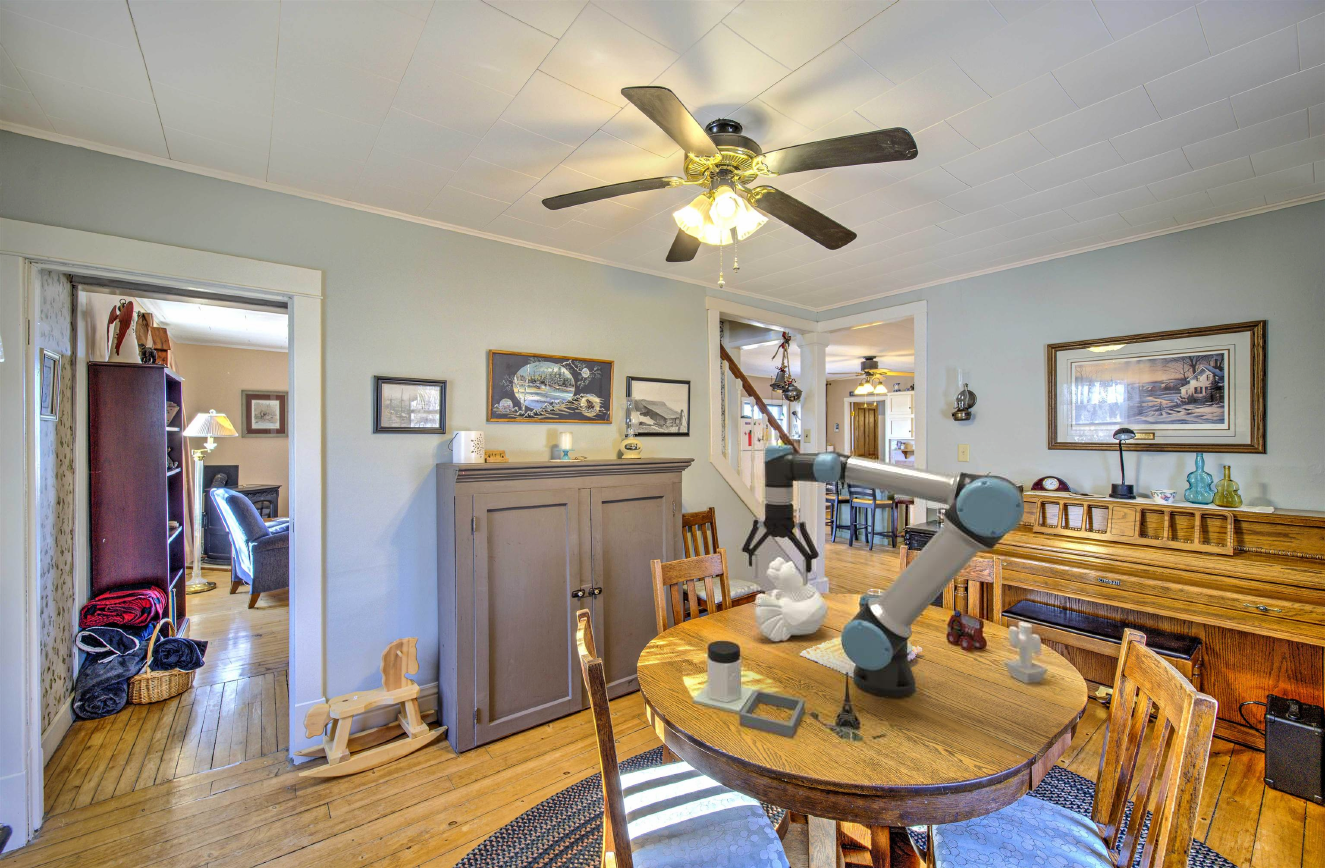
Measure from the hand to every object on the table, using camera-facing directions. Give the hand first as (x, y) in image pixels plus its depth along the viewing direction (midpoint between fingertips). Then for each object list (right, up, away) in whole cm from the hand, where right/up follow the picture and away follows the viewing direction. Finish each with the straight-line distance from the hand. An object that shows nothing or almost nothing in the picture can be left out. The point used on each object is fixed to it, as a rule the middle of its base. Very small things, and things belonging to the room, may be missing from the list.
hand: (779, 581), depth 142 cm
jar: (-16, -26, -9) cm, 32 cm away
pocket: (-6, -27, -18) cm, 33 cm away
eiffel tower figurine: (+10, -27, -21) cm, 36 cm away
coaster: (-16, -27, -9) cm, 32 cm away
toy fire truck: (+63, -27, +23) cm, 72 cm away
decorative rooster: (+10, -27, +33) cm, 44 cm away
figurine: (+66, -27, 0) cm, 71 cm away
